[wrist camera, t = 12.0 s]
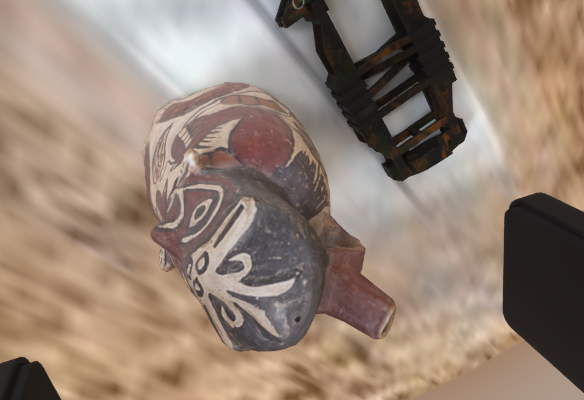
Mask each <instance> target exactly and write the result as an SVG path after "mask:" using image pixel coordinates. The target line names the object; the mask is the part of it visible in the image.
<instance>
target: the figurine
mask: <svg viewBox="0 0 584 400" xmlns="http://www.w3.org/2000/svg"><path fill="white" fill-rule="evenodd" d="M142 155H143V158H144V165H145V178H146V185H147V197H148V200H149V203H150V207H151V210H152V212H153V214H154V216H155V217H156V218H157V219H158V220H159V222H160V223H159V224H157V225H156V226H155V227H154V228H153V229H152V231H151V237H152V239H153V241H154V242H156V243H157V244H159V245H160V246H161V247H162V249H161V250H160V254H159V258H158V260H159V265H160V267H161V269H162V270H164V271H166V272H169V271H170V270H171V269H173V268H174V267H175V268H176V269H177V271H178V272H179V274H180V275H181V276H182V278H183V279H184V280H185V282H186V284H187V287H188V288H189V289H190V291H191V292H192V293H193V294H194V296H195V297H196V298H197V299H198V301H199V302H200V304H201V305H202V307H203V309H204V310H205V312H206V314H207V316H208V317H209V319H210V321H211V323H212V325H213V326H214V328H215V330H216V332H217V333H218V335H219V337H220V338H221V340H222V342H223V343H224V344H225V345H226V346H227V347H228V348H229V349H232V350H236V351H240V352H241V351H249V350H254V351H258V352H259V351H277V350H282V349H285V348H288V347H291V346H294V345H296V344H297V343H298V342H299V341H300V340H301V339H302V338H303V337H304V336H305V335H306V333H307V331H308V329H309V327H310V325H311V323H312V321H313V318H314V316H315V314H322V313H325V314H327V315H329V316H332V317H334V318H337V319H339V320H341V321H344V322H346V323H347V324H349V325H351V326H352V327H354V328H356V329H358V330H359V331H361V332H363V333H365V334H366V335H368V336H370V337H371V338H373V339H382V338H383V337H385V336H386V335H387V333H388V332H389V330H390V328H391V326H392V322H393V319H394V316H395V312H396V305H395V303H394V301H393V299H392V298H390V297H389V296H388V295H387V294H385V293H384V292H383V291H382V290H380V289H379V288H378V287H377V286H375V285H374V284H373V283H372V282H370V281H369V280H368V279H367V278H365V277H364V276H363V275H362V274H360V272H361V270H362V266H363V260H364V255H365V248H364V247H363V246H362V244H361V243H360V241H359V240H358V239H356V238H354V237H353V236H351V235H349V234H348V233H347V232H346V231H345V230H344V229H343V228H342V227H341V226H340V225H339V224H338V223H337V222H336V221H335V220H334V219H333V218H332V217H331V215H330V191H329V185H328V179H327V175H326V172H325V169H324V167H323V164H322V162H321V159H320V156H319V154H318V152H317V150H316V148H315V146H314V145H313V143H312V141H311V139H310V137H309V136H308V134H307V133H306V131H305V129H304V127H303V125H302V124H301V123H300V122H299V120H298V119H297V118H296V117H295V116H294V115H293V114H292V112H291V111H290V110H289V109H288V108H287V107H286V106H284V105H283V104H282V103H280V102H279V101H278V100H276V99H275V98H274V97H272V96H271V95H270V94H268V93H266V92H264V91H262V90H260V89H258V88H255V87H253V86H250V85H248V84H244V83H229V82H225V83H223V84H220V85H217V86H214V87H211V88H205V89H203V90H202V91H200V92H198V93H195V94H193V95H190V96H189V97H187V98H185V99H183V100H173V101H172V102H171V103H169V104H168V105H166V106H165V107H164V108H162V109H161V110H159V111H158V113H157V115H156V117H155V119H154V124H153V127H152V129H151V132H150V134H149V136H148V137H147V139H146V140H145V143H144V146H143V149H142Z"/></svg>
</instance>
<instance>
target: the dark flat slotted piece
mask: <svg viewBox="0 0 584 400" xmlns="http://www.w3.org/2000/svg"><path fill="white" fill-rule="evenodd" d="M381 1H382V4H383V6H384V8H385V10H386V12H387V15H388V17H389V19H390V21H391V23H392V25H393V28H394V30H395V32H396V34H395V35H394V36H393V37H391V38H390V39H389V40H388V41H387V42H386V43H385V44H384V45H383V46H381V47H380V48H379V49H378V50H377V51H376V52H375V53H373V54H371V55H369V56H367V57H365V58H363V59H362V60H360V61H358V62H356V63H353V61H352V59H351V57H350V56H349V54H348V52H347V50H346V48H345V46H344V44H343V42H342V40H341V38H340V36H339V34H338V32H337V30H336V29H335V27H334V25H333V23H332V21H331V19H330V17H329V15H328V13H327V11H328V10H329V9H328V7H327V5H326V3H325V1H324V0H281V2H280V6H279V9H278V12H277V15H276V19H275V21H276V22H277V24H278V26H279V27H283V26H284V28H288V27H289V26H291V25H292V24H294V23H295V22H297V21H298V20H300V19H301V18H302V17H304V18H305V20H306V21H311V22H312V24H313V31H314V38H315V45H316V52H317V54H318V55H319V57H320V59H321V61H322V63H323V64H324V66H325V68H326V70H327V72H328V76H327V82H325V84H326V85H327V87H328V88H330V89H331V91H332V92H331V94H332V96H333V98H335V99H336V100H337V102H336V103H337V105H338V107H339V108H341V109H342V114H343V116H344V117H345V118H347V120H348V121H347V123H348V125H349V126H350V127H352V128H353V130H354V132H355V134H356V136H357V137H358V139H359V141H361V142H364V143H367V145H368V146H369V147H371V148H373V149H374V150H375V151H376V152H379V153H381V154H382V155H383V156H384V157H385V159H386V162H384V163H383V164H382V166H383V168H384V170H385V172H386V173H387V175H388V176H389V177H390V178H392V179H393V180H397V181H404V180H405V179H407V178H408V177H410V176H413V175H415V174H418V173H421V172H423V171H426V170H428V169H429V168H431V167H432V166H434V165H436V164H437V163H439V162H440V161H442V160H444V159H445V158H447V157H448V156H450V155H451V154H453V152H452V151H453V150H454V149H455V148H456V147H457V146H458V145H459V144H461V143H462V142H464V140H465V137H466V134H467V129H466V127H465V125H464V122H463V120H462V119H460V118H457V117H455V115H454V113H453V100H452V83H453V82H454V81H456V80H457V79H456V76H455V74H454V71H453V68H454V66H453V64H452V62H449V59H448V58H449V57H450V56H449V54H448V52H445V50H444V47H445V44H444V42H443V41H441V40H440V38H439V37H440V36H441V34H440V32H439V30H436V28H435V25H436V22H435V20H434V19H430V18H427V17H425V16H424V15H423V13H422V11H421V8H420V6H419V3H418V1H417V0H381ZM399 48H401V50H403V51H402V52H400V53H398V54H396V55H394V56H392V57H390V58H388V59H387V60H385V61H383V62H381V63H379V64H377V65H375V64H376V63H378V62H379V61H380V60H381V59H382V58H384V57H385V56H386V55H387V54H389V53H391V52H393V51H395V50H397V49H399ZM408 62H409V63H410V65H409V67H410V69H411V71H414V74H415V75H413V76H412V77H410V78H409V79H407V80H406V81H404V82H403V83H402V84H400V85H399V86H397V87H396V88H394V89H393V90H391V91H390V92H389V93H387V94H386V95H384V96H383V97H381V98H380V99H378V100H377V101H376V102H374V101H373V100H372V97H373V96H374V95H375V94H376V93H377V92H378V91H379V90H380V89H381V88H382V87H383V86H385V85H386V84H387V83H388V82H389V81H390V80H391V79H392V78H393V77H394V76H395V75H396V74H397V73H398V72H399V71H400V70H401V69H402V68H403V67H404V66H405V65H406V64H407V63H408ZM394 64H395V65H394ZM374 65H375V66H374ZM392 65H394V66H393V67H392V68H391V69H390V70H388V71H387V72H386V73H385V74H384V75H383V76H382V77H381V78H380V79H379V80H378V81H377V82H376V83H375V84H374V85H373V86H372V87H371V88H370V89H369V90H367V88H366V87H367V84H366V82H365V81H363V80H365V79H367V78H369V77H371V76H373V75H375V74H376V73H378V72H380V71H382V70H384V69H386V68H388V67H390V66H392ZM416 82H419V83H417V84H416V85H414V84H415V83H416ZM412 85H414V86H413V87H412V88H410V89H409V90H407V91H406V92H404V93H403V94H402V95H400V96H399V97H397V98H396V99H394V100H393V101H391V102H390V103H389V104H387V105H386V106H384V107H383V108H381V109H380V110H379V111H378V110H377V109H379V108H380V107H382V106H383V105H385V104H386V103H388V102H389V101H390V100H392V99H393V98H395V97H396V96H398V95H399V94H401V93H402V92H403V91H405V90H406V89H408V88H409V87H411V86H412ZM421 90H422V91H423V93H424V96H425V98H426V100H427V102H428V104H429V107H430V109H431V112H430V113H428V114H427V115H425V116H424V117H422V118H421V119H420V120H418V121H417V122H415V123H414V124H412V125H411V126H409V127H408V128H407V129H405V130H404V131H402V132H401V133H399V134H398V135H396V136H395V137H394V138H392V137H391V135H390V133H389V131H388V129H387V127H386V125H385V123H384V121H383V119H382V118H383V117H384V116H386V115H387V114H388V113H390V112H391V111H393V110H394V109H396V108H397V107H398V106H400V105H401V104H403V103H404V102H406V101H407V100H409V99H410V98H411V97H413V96H414V95H416V94H417V93H419V92H420V91H421ZM433 119H435V120H436V121H435V122H434V123H432V124H431V125H429V126H428V127H426V128H425V129H423V130H422V131H420V130H419V129H420V128H422V127H423V126H425V125H426V124H427V123H429V122H430V121H432V120H433ZM439 128H440V131H441V133H440V134H439V135H437V136H435V137H432V138H430V139H428V140H426V141H425V142H423V143H422V144H420V145H418V146H417V147H415V148H414V149H412V150H410V151H409V149H410V148H412V147H413V146H415V145H416V144H418V143H419V142H420V141H422V140H423V139H425V138H426V137H428V136H429V135H430V134H432V133H433V132H435V131H436V130H438V129H439ZM410 135H411V136H413V137H412V138H410V139H409V140H408V141H406V142H405V143H403V144H402V145H400V146H399V147H397V146H396V145H397V144H399V143H400V142H402V141H403V140H405V139H406V138H407V137H409V136H410Z"/></svg>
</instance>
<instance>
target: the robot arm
mask: <svg viewBox="0 0 584 400" xmlns="http://www.w3.org/2000/svg"><path fill="white" fill-rule="evenodd" d="M503 315H504V318H505V320H506V322H507V323H508V325H509V326H510V327H511V328H512V329H513V330H514V331H515V332H516V333H518V334H519V335H520V336H521V337H522V338H523V339H524V340H525V341H527V342H528V343H529V344H530V345H531V346H532V347H533V348H534V349H535V350H537V351H538V352H539V353H540V354H541V355H542V356H543V357H544V358H546V359H547V360H548V361H549V362H550V363H551V364H552V365H553V366H554V367H556V368H557V369H558V370H559V371H560V372H561V373H562V374H563V375H564V376H565V377H567V378H568V379H569V380H570V381H571V382H572V383H573V384H574V385H575V386H577V387H578V388H579V389H580V390H581V391H582V392H583V393H584V212H582V211H580V210H578V209H576V208H574V207H572V206H570V205H568V204H566V203H564V202H562V201H560V200H558V199H555V198H553V197H551V196H549V195H547V194H545V193H541V192H540V193H535V194H532V195H529V196H525V197H522V198H519V199H516V200H514V201H513V202H512V203H511V204H510V207H509V209H508V210H507V211H506V213H505V217H504V266H503ZM0 400H61V399H60V397H59V395H58V393H57V391H56V389H55V388H54V386H53V384H52V382H51V380H50V379H49V377H48V375H47V373H46V371H45V370H44V368H43V366H42V365H41V363H39V362H38V361H34V362H31V363H30V362H29V360H27V359H26V358H25V357H19V358H16V359H13V360H10V361H7V362H3V363H0Z"/></svg>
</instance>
